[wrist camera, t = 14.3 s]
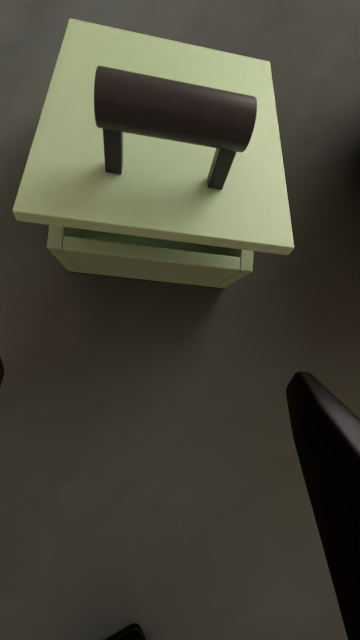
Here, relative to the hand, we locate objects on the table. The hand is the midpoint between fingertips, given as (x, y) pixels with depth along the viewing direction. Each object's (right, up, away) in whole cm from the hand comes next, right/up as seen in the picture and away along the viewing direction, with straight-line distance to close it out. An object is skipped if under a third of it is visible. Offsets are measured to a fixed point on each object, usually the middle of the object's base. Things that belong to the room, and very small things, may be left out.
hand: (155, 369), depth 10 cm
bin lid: (0, +11, +6) cm, 13 cm away
